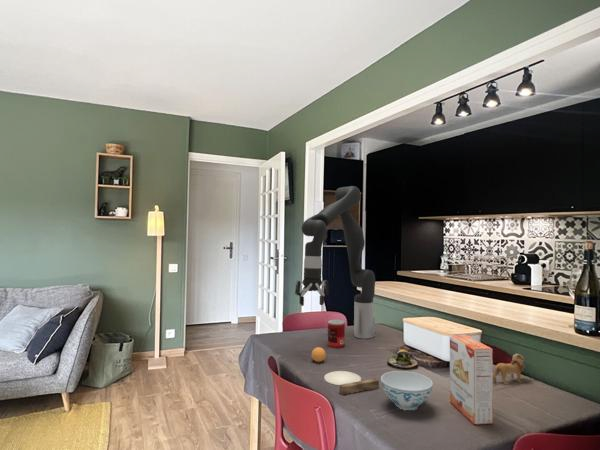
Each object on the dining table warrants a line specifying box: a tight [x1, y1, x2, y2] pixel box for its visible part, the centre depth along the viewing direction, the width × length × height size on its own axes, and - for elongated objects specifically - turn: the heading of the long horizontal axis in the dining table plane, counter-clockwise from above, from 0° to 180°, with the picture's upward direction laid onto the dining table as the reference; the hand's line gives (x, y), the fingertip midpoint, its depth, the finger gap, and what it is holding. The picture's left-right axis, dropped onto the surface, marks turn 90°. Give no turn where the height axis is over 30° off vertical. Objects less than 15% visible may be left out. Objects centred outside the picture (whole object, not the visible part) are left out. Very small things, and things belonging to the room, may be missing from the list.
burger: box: [386, 348, 419, 369], centre depth 151 cm, size 12×12×8 cm
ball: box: [311, 346, 326, 363], centre depth 154 cm, size 6×6×6 cm
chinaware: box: [380, 370, 433, 411], centre depth 116 cm, size 15×15×8 cm
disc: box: [324, 370, 362, 386], centre depth 137 cm, size 13×13×1 cm
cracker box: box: [449, 334, 494, 425], centre depth 111 cm, size 14×6×21 cm, turn 5°
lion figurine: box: [493, 353, 526, 386], centre depth 135 cm, size 15×5×9 cm, turn 116°
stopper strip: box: [338, 378, 380, 396], centre depth 127 cm, size 14×2×2 cm, turn 114°
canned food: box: [327, 319, 346, 349], centre depth 176 cm, size 8×8×11 cm
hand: (311, 305), depth 162 cm, fingers open, 8 cm apart
